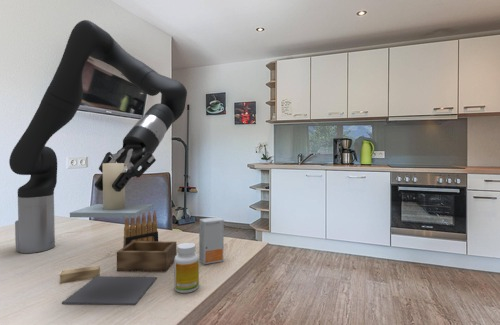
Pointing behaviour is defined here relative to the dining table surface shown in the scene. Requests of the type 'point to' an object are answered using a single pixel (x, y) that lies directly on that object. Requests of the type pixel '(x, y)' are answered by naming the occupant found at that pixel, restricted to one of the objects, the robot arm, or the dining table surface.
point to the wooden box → (146, 256)
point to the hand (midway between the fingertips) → (106, 188)
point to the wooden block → (79, 274)
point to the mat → (111, 291)
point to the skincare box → (211, 240)
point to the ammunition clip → (141, 229)
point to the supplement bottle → (186, 268)
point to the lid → (112, 199)
